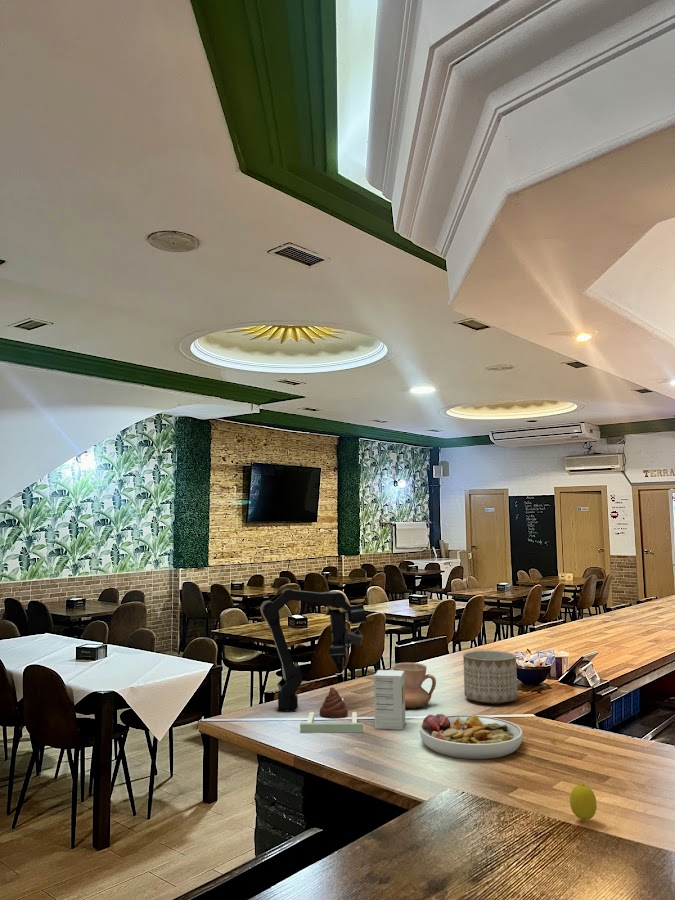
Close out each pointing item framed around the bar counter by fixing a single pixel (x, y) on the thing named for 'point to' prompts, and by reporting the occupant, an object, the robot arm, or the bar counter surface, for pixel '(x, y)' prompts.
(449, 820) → the bar counter surface
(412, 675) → the ceramic jug
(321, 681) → the bar counter surface
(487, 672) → the planter
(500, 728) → the bowl
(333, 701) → the poop emoji
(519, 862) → the bar counter surface
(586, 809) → the lemon
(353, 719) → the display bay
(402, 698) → the supplement box
